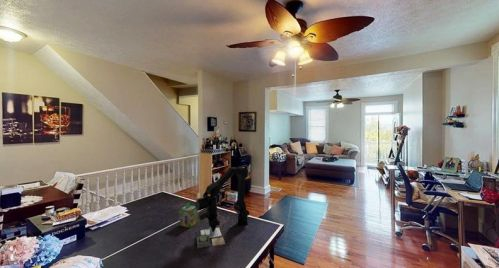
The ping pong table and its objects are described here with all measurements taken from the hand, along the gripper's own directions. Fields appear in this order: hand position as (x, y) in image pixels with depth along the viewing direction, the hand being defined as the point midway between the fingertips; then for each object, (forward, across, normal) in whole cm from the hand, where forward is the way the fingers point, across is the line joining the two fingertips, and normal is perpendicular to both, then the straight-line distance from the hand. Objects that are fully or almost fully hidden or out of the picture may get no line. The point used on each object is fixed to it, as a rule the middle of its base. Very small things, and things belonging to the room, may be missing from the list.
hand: (212, 230), depth 126 cm
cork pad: (+3, +9, +2) cm, 9 cm away
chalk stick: (+2, 0, 0) cm, 2 cm away
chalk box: (+3, -19, -14) cm, 24 cm away
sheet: (+3, -2, -1) cm, 3 cm away
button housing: (+3, +8, -6) cm, 10 cm away
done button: (+2, +8, -6) cm, 10 cm away
